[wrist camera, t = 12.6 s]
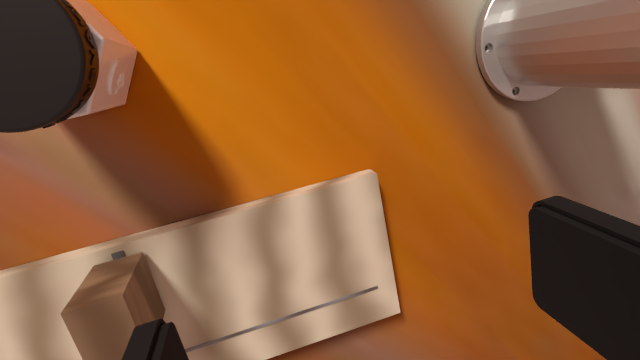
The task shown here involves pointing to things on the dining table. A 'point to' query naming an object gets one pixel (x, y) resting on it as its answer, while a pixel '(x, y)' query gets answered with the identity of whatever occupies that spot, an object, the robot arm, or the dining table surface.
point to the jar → (59, 63)
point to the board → (230, 276)
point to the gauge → (112, 307)
